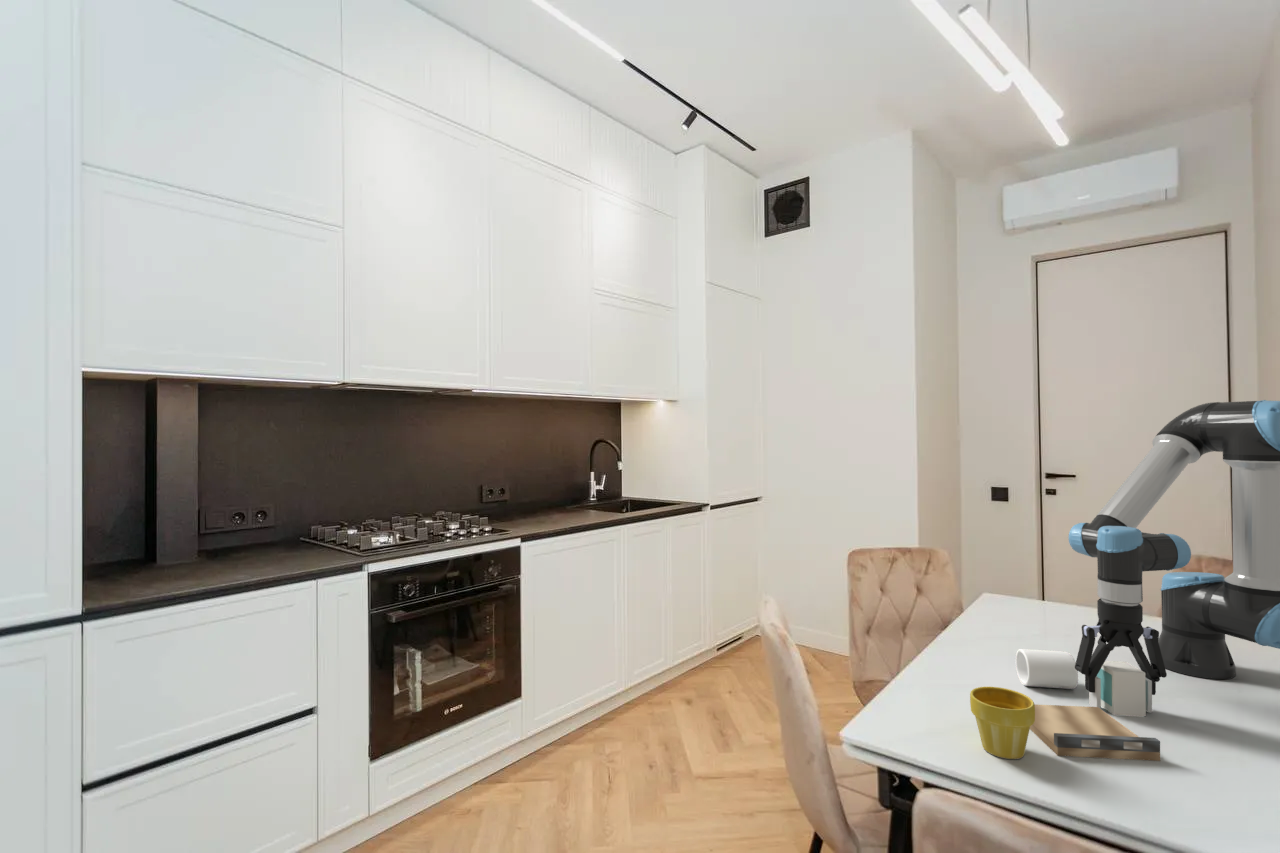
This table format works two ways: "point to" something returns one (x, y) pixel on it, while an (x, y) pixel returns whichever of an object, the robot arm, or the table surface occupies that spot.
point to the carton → (1122, 689)
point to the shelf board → (1090, 734)
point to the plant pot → (1002, 720)
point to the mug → (1046, 669)
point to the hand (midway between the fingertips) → (1120, 708)
